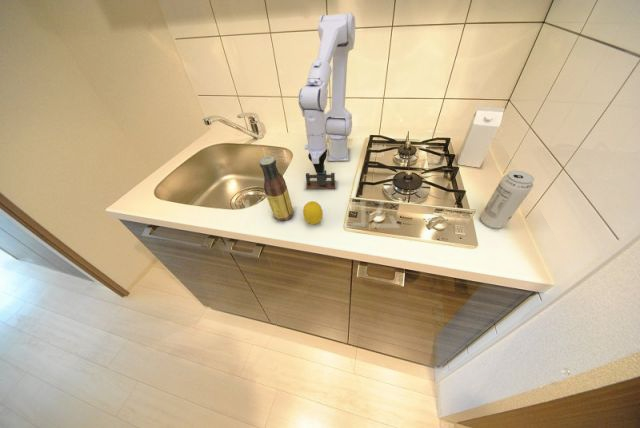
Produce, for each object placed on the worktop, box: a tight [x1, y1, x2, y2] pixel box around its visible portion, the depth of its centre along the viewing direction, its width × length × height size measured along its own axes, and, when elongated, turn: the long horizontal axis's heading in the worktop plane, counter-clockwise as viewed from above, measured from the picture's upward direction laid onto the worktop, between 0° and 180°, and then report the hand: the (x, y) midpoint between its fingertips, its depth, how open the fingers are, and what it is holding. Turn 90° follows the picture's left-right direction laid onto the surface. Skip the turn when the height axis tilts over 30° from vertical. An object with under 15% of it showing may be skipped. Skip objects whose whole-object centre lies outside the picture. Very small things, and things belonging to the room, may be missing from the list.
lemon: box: [302, 200, 324, 225], centre depth 64 cm, size 6×6×8 cm
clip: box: [316, 165, 328, 185], centre depth 76 cm, size 4×3×7 cm
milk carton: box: [457, 106, 506, 168], centre depth 77 cm, size 7×7×19 cm
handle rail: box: [305, 172, 336, 190], centre depth 78 cm, size 4×10×5 cm, turn 85°
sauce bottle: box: [258, 155, 294, 222], centre depth 64 cm, size 7×6×20 cm
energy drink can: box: [480, 170, 535, 230], centre depth 57 cm, size 6×6×15 cm
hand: (319, 171), depth 76 cm, fingers closed on clip
